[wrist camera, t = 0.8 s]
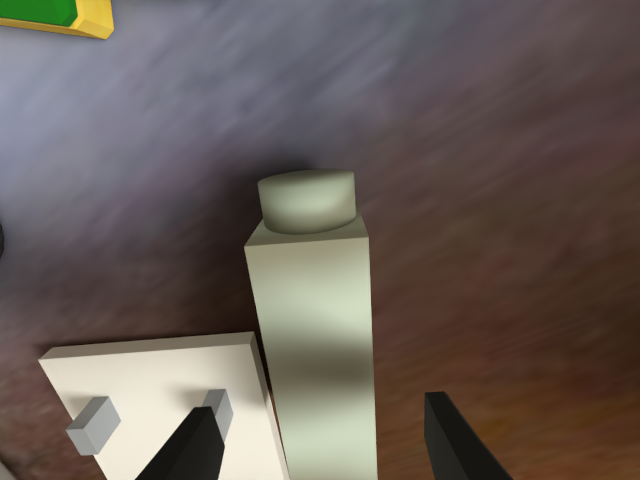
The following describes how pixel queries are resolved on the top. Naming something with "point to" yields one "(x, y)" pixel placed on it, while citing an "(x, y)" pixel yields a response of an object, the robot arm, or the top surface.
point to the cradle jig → (167, 401)
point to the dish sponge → (60, 16)
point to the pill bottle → (1, 241)
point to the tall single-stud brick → (317, 321)
